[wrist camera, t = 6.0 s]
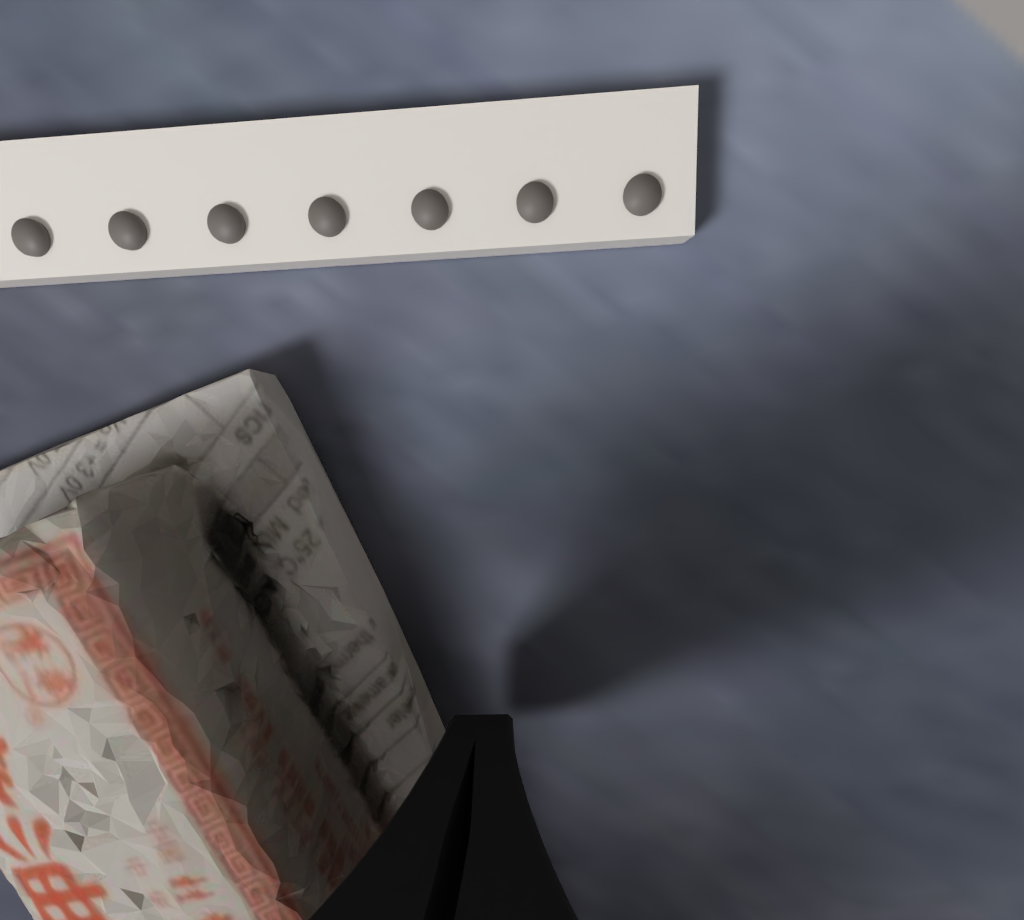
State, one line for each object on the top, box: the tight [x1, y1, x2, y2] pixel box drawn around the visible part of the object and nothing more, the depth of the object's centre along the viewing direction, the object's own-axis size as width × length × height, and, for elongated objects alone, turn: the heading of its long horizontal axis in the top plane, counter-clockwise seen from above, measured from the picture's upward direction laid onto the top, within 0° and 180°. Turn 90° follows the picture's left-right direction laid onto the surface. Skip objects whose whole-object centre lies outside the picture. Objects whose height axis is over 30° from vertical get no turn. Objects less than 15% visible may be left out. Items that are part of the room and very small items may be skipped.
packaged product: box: [0, 369, 446, 920], centre depth 12 cm, size 18×5×10 cm
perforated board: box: [0, 85, 699, 288], centre depth 10 cm, size 16×2×1 cm, turn 93°
